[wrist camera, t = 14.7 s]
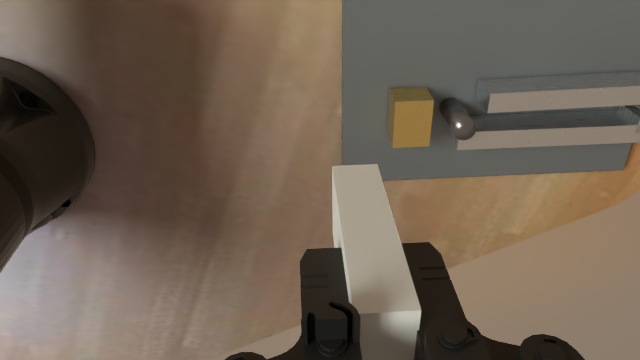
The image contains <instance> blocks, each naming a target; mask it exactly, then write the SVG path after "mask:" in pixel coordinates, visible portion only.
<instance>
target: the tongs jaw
mask: <svg viewBox="0 0 640 360" xmlns="http://www.w3.org/2000/svg"><path fill="white" fill-rule="evenodd" d="M476 99H477V101H478V102H479V103H480V104H481V106H482V107H483V108H484V109H485V111H486V112H487V113H499V112H517V111H535V110H553V109H571V108H589V107H607V106H625V105H634V106H635V107H637V108H638V109H640V71H634V72H616V73H597V74H578V75H560V76H541V77H522V78H504V79H485V80H478V83H477V91H476Z"/></svg>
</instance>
